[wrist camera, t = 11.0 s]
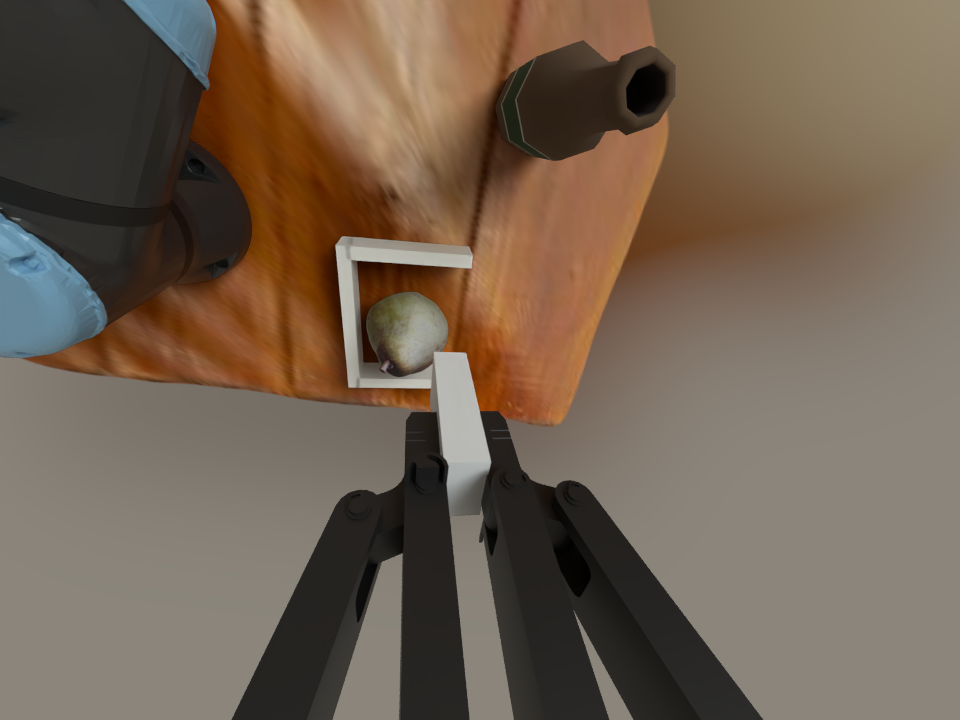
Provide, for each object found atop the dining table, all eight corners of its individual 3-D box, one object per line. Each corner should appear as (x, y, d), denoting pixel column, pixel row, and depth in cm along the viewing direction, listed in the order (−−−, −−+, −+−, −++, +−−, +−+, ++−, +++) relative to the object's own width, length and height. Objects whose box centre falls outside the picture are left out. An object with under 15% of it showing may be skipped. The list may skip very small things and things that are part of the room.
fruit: (356, 311, 48) (339, 360, 38) (407, 264, 45) (403, 302, 35) (412, 358, 53) (410, 412, 42) (461, 318, 50) (471, 365, 40)
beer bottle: (556, 157, 41) (685, 183, 21) (488, 149, 40) (557, 169, 20) (572, 71, 37) (752, 0, 17) (497, 59, 36) (596, -34, 16)
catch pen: (353, 370, 52) (348, 387, 49) (342, 236, 42) (335, 245, 39) (456, 372, 55) (458, 388, 52) (468, 246, 45) (472, 255, 42)
